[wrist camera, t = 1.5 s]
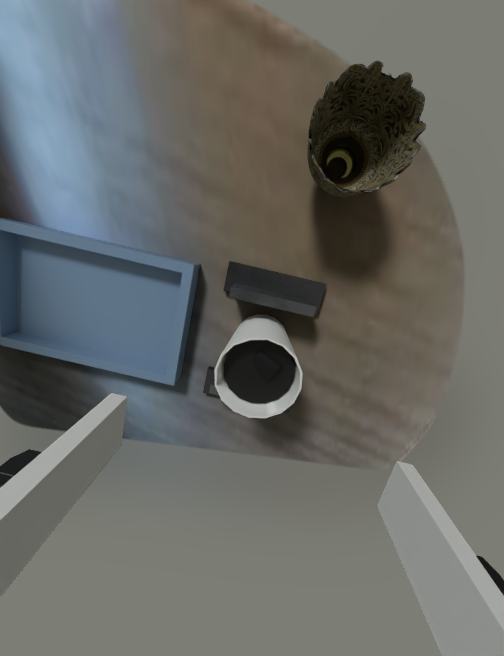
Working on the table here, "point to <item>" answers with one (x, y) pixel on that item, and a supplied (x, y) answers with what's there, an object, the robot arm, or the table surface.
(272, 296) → the bracket
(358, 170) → the cup
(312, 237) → the table surface
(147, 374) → the tray
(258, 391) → the white tumbler
